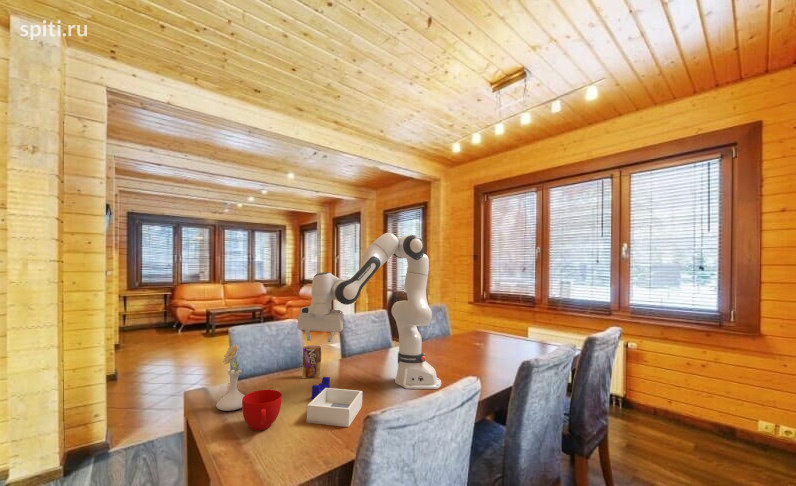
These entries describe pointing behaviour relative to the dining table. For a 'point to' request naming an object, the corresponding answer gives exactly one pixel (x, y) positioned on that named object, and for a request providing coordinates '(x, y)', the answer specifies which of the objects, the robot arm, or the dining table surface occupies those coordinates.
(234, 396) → the flower in vase
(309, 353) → the candy box
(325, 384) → the blue curved block
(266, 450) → the dining table surface
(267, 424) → the ceramic cup
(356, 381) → the dining table surface
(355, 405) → the walled box
